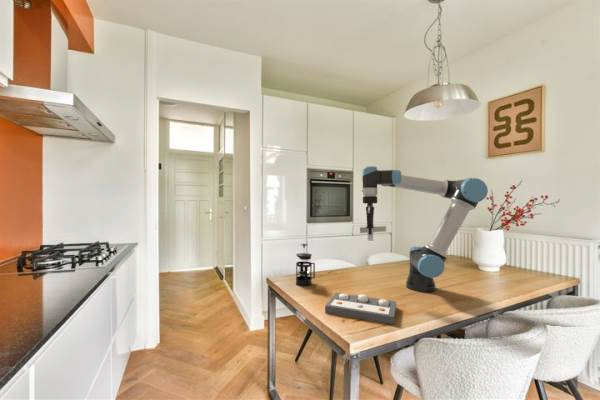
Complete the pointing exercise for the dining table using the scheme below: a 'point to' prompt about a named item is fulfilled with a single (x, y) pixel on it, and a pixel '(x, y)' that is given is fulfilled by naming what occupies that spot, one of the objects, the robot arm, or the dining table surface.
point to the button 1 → (343, 296)
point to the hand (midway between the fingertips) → (370, 240)
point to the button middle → (363, 298)
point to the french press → (304, 278)
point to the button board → (362, 309)
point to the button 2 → (384, 302)
